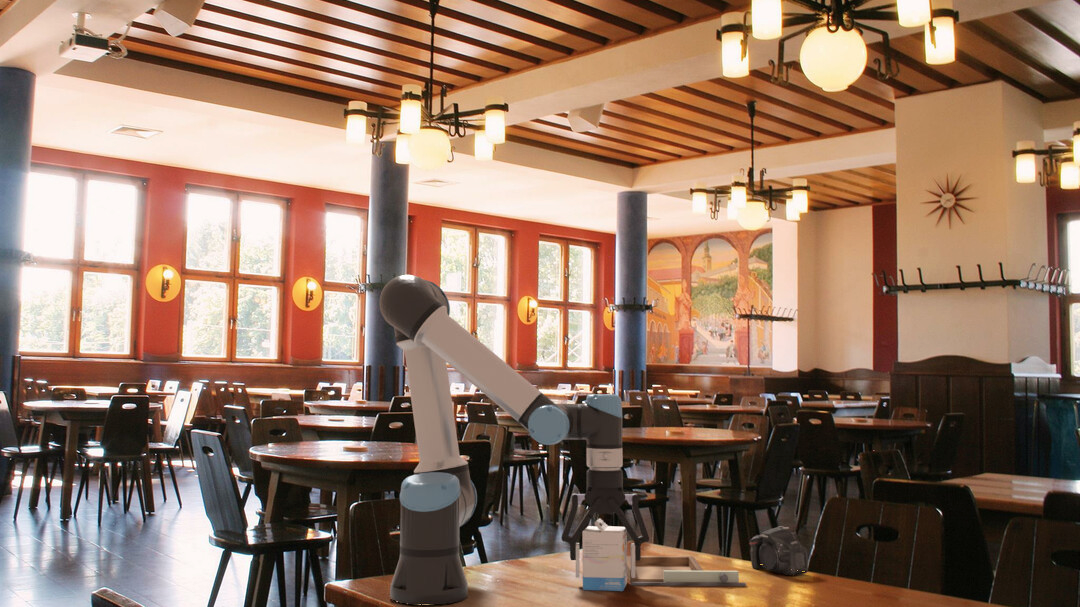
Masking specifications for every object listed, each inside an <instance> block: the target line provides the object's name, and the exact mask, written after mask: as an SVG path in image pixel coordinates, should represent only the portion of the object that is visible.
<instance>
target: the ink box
mask: <svg viewBox="0 0 1080 607" xmlns="http://www.w3.org/2000/svg"><path fill="white" fill-rule="evenodd" d="M593 524H594V526H593V525H587V526H586V527H585V529H584V531H582V534H581V536H582V544H581V545H582V590H583V591H606V592H607V591H609V592H610V591H611V592H623V591H624V590H625V588H626V586H627V584H628V575H627V556H628V546H627V545H628V541H627V540H628V539H627V537H628V536H627V534H628V531H627V530H626V528H625V527H624V526H612V525H608V524H606V522H604V520H603V519H602V518H598V519H597V520H596V521H594V522H593Z"/></svg>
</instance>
